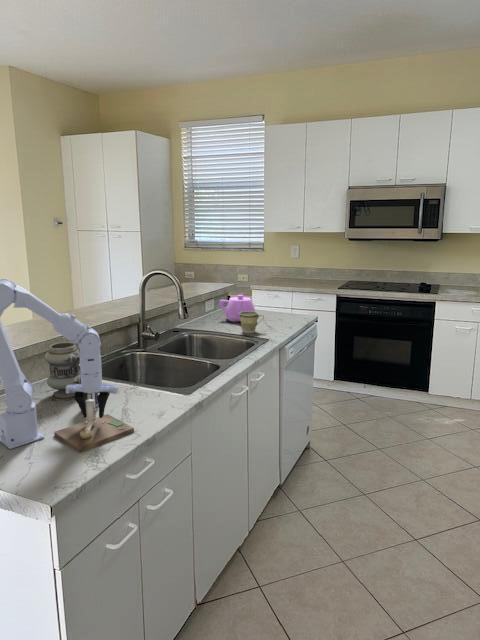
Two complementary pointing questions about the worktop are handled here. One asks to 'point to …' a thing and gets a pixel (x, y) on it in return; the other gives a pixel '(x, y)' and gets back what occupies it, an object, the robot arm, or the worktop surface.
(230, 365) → the worktop surface
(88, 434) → the peg lever
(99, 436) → the tuner board
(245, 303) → the teapot
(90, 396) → the pill bottle
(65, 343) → the apothecary jar
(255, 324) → the ceramic cup
